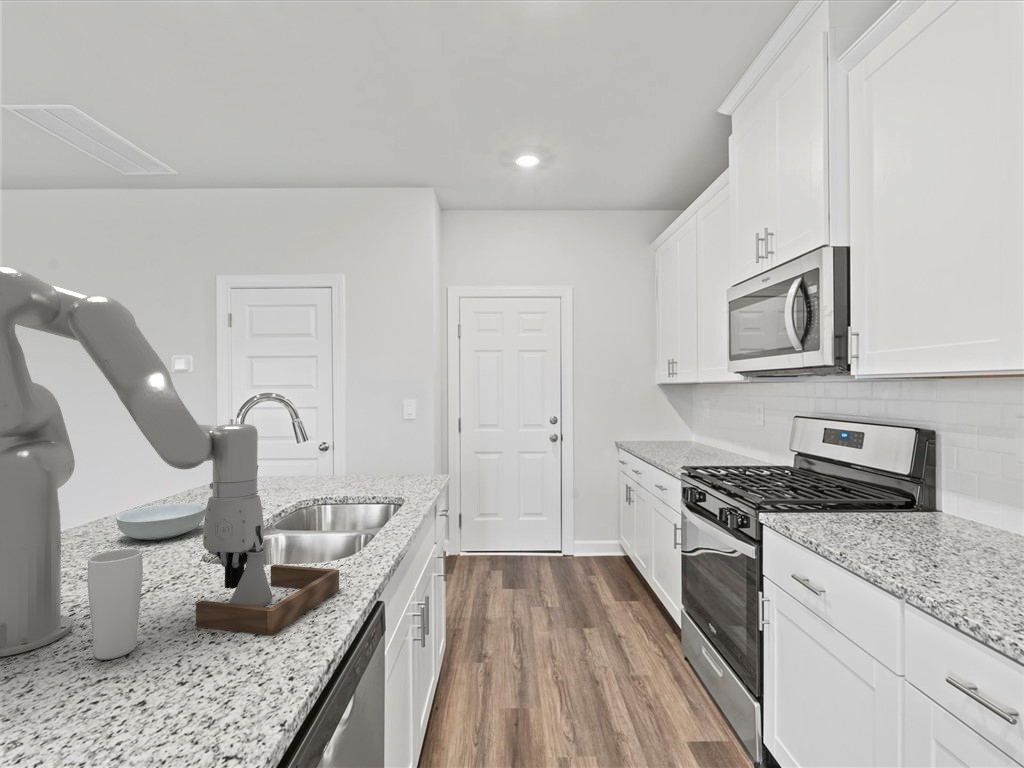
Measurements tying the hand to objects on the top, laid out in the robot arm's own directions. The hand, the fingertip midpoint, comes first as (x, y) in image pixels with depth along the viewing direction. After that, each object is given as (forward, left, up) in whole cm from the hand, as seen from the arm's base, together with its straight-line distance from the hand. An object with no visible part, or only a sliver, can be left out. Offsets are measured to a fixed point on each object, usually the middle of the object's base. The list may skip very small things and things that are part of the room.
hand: (234, 585), depth 99 cm
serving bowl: (+35, +54, -4) cm, 64 cm away
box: (0, -8, -3) cm, 9 cm away
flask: (0, -4, -3) cm, 5 cm away
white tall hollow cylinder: (-20, +4, -3) cm, 21 cm away
